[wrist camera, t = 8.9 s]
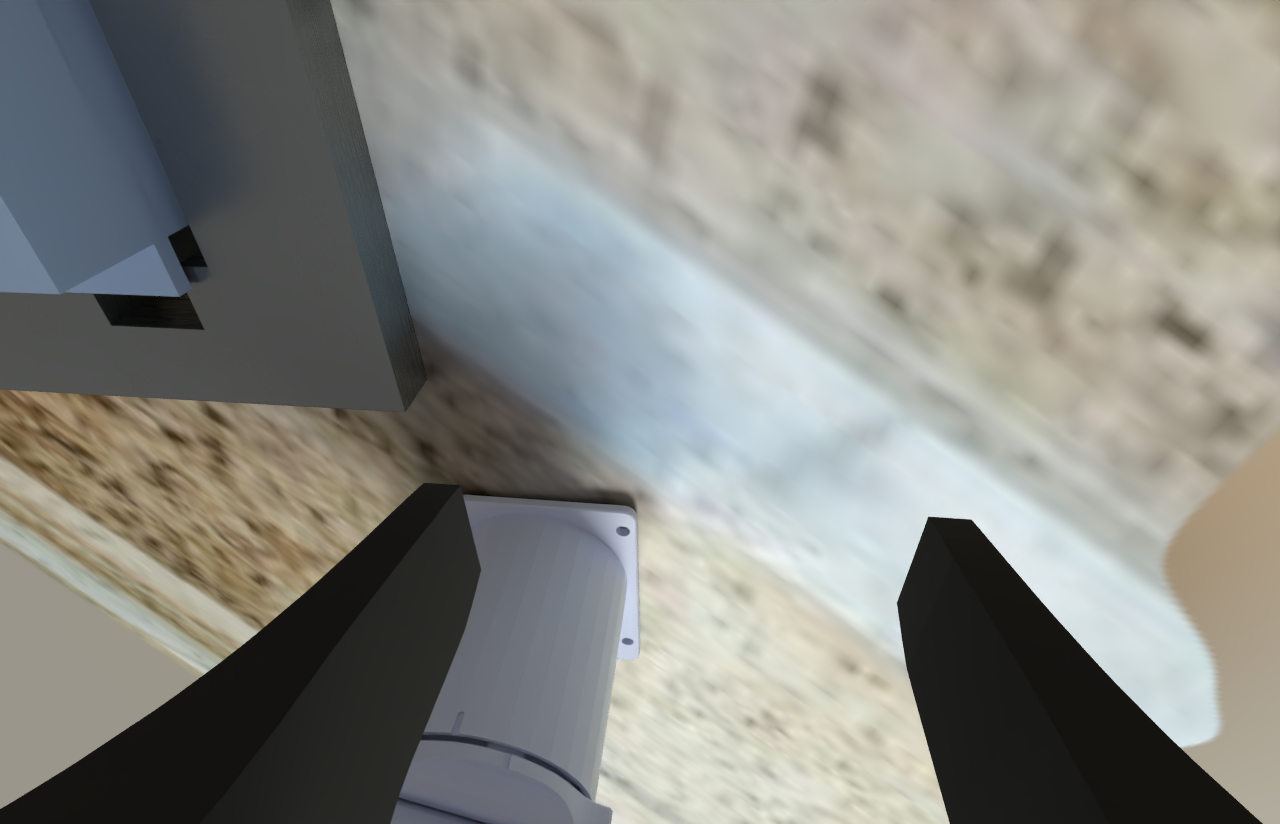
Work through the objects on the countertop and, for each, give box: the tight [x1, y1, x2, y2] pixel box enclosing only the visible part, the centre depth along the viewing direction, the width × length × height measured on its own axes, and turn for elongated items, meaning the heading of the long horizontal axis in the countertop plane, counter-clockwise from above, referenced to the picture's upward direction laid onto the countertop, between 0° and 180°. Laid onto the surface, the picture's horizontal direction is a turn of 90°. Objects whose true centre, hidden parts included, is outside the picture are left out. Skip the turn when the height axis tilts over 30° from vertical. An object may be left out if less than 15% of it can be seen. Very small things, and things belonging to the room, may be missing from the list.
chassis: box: [0, 0, 427, 412], centre depth 16 cm, size 16×14×2 cm
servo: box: [0, 0, 200, 297], centre depth 15 cm, size 9×4×6 cm, turn 1°
